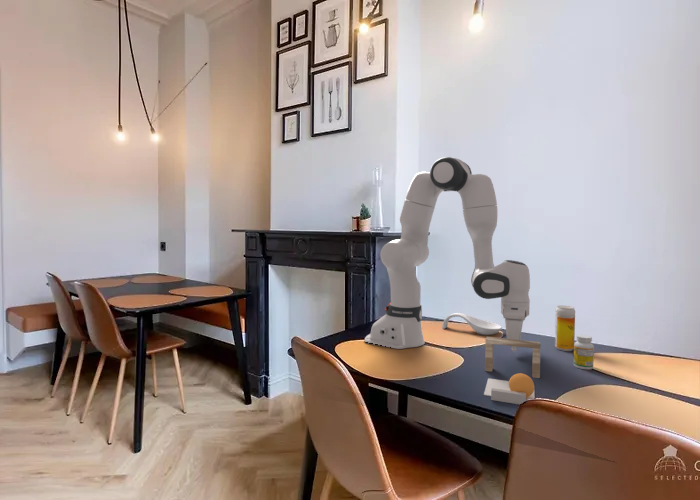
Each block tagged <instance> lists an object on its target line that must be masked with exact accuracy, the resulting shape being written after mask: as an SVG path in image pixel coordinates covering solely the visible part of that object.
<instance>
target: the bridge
mask: <svg viewBox="0 0 700 500" xmlns="http://www.w3.org/2000/svg"><path fill="white" fill-rule="evenodd" d="M484 344H485V346H484V349H485V353H484V354H485V355H484V357H485V358H484V371H485V372H491V373H492V372H493V369H494V345H500V346H509V347H511V346H517V348H518V347H519V348H525V349H526V348H527V349H528V348H529V349H532V362H531V363H532V364H531V366H532V367H531V368H532V369H531V370H532V371H531V376H532V378H536V379H540V378H541V349H542V348H541V346H542V345H541V341H535V340H534V341H533V340H523V339H520V340H514V339H507V338H504V337H502V338H501V337H493V336H486V337H485V343H484Z"/></svg>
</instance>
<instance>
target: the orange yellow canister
mask: <svg viewBox="0 0 700 500" xmlns="http://www.w3.org/2000/svg"><path fill="white" fill-rule="evenodd" d="M554 325H555V326H554V327H555V328H554V346H555V348H556V349H557V350H559V351H564V352H572V351H573V350H574V343H575V334H576V333H575V332H576V331H575V329H576V310H575V307H574V306H571V305H557V306H556V309H555V324H554Z"/></svg>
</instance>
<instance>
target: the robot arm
mask: <svg viewBox="0 0 700 500" xmlns="http://www.w3.org/2000/svg"><path fill="white" fill-rule="evenodd" d="M442 192H457V193H458V194H459V196H460V197H461V198H460V199H461V206H462V216H463V220H464V223H465V226H466V229H467V232H468V234H469V236H470V239H471V241H472V247H473V257H474V269H473V272H472V274H471V279H470V280H471V282H470V283H471V286H472V288H473V290H474V293H475V294H476V295H477V296H479V297H480V298H481V299H486V300H491V299H498V298H500V313H501V315H502V316H503V317H502V318H503V319H504V323H505V333H506V334H505V335H506V336H505V337H506V339H514V340H521V337H522V330H523V325H524V324H523V323H524V321H525V320H526V318H527V317H529V316H530V303H531V302H530V301H531V300H530V297H529V296H530V295H529V293H530V288H531V278H530V269H529V267H528V265H526V263H524V262H522V261H517V260H512V259H510V260H509V259H506V260H504V261H502V262H501V263H499V264H497V265H496V266H495V264H494V257H493V256H494V255H493V245H492V242H493V236H494V233H495V231H496V228H497V226H498V225H497V223H498V203H497V196H496V192H495V188H494V184H493V182H492V179H491V177H490V176H488V175H486V174H482V173H478V174H477V173H475V174H472V170H471V167H470V166H469V164H467V163H466V162H464V161H462V159H460V158H456V157H454V158H453V157H451V156H447V157H446V156H444V157H441V158H439V159H437V160H436V161H434V163H433V164H432V165H431V168H430V171H429V172H428V171H427V172H426V171H421V172H417V173H416V174H415V175H414V177H413V178H412V179H411V182H410V185H409V187H408V190H407V191H406V196H405V198H404V203H403V205H402V209H401V213H400V217H399V223H400V225H401V233H400V234H401V235H400V239H399V238H398V239H393V240H391V241H388V242H387V243H385V244H384V245H383V246H382V248H381V249H380V260H381V263H382V264H383V265H384V267H385V268H386V271H387V275H388V279H389V284H390V285H389V286H390V302H389V303H388V304H387V305H386V306H385V307H384V312H385V314H384V315H383V316H381V317H380V318H379V319H377V320H376V321H375V322H374V323H372V326H371V328H370V329H371V330H370V333H369V334H367V335H366V336H365V337H364V342H368V343H367V344H369V343H373V344H372V345H375V344H378V345H377V346H380V345H382V346H381V347H385V346H386V347H385V348H390V347H391V348H392V349H395V350H396V349H397V350H401V349H408V348H417V347H421V346H423V345H425V343H426V342H425V339H424V338H425V337H424V333H423V327H422V319H423V309H422V305H421V292H422V291H421V283H420V282H419V280H418V278H417V274H416V269H415V268H416V267H419V266H421V265H422V264H424V263H425V262H426V261H427V260H428V258H429V255H430V249H429V246H428V242H429V233H430V226H431V222H432V219H433V214H434V211H435V209H436V208H435V207H436V204H437V201H438V198H439V196H440V194H441V193H442ZM391 348H390V349H391ZM510 348H511V351H512V352H517V351H518V347H517V346H510Z"/></svg>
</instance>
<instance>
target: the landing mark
mask: <svg viewBox="0 0 700 500" xmlns="http://www.w3.org/2000/svg"><path fill="white" fill-rule="evenodd" d="M492 388H495V389H502V390H509V391H511V390H510V388H509V380H505V379H503V380H502V379H495V378H489V377H488V378H487V382H486V385H485V389H484V392H483V396H487V397H491V390H492ZM532 398H536V397H535V390H534V391H533V393H532V394H531V395H530V396H529V397H527V398H526V400H527V399H532Z"/></svg>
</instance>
